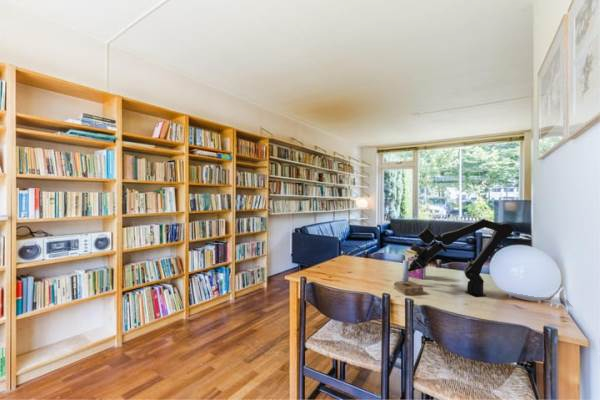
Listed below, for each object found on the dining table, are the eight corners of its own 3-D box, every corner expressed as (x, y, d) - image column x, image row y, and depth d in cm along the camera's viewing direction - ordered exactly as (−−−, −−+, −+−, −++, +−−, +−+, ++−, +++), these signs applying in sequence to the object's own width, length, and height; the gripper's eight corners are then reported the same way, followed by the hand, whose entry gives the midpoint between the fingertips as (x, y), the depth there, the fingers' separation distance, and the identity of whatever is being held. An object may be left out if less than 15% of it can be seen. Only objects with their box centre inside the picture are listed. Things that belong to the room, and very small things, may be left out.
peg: (406, 283, 155) (406, 260, 155) (409, 285, 152) (409, 261, 152) (401, 283, 155) (401, 260, 155) (404, 285, 152) (404, 261, 152)
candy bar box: (404, 276, 170) (404, 249, 170) (407, 274, 174) (407, 248, 174) (422, 280, 163) (423, 252, 162) (426, 278, 166) (426, 251, 166)
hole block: (411, 288, 149) (411, 281, 149) (423, 294, 139) (423, 287, 139) (394, 289, 147) (394, 282, 147) (405, 296, 137) (405, 288, 137)
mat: (410, 281, 161) (410, 280, 161) (421, 286, 151) (421, 285, 151) (394, 282, 159) (394, 281, 159) (404, 287, 149) (404, 287, 149)
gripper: (420, 236, 159) (400, 254, 164) (419, 241, 142) (396, 260, 147) (436, 251, 155) (414, 269, 160) (436, 258, 139) (412, 277, 143)
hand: (409, 268), depth 153 cm, fingers open, 9 cm apart
